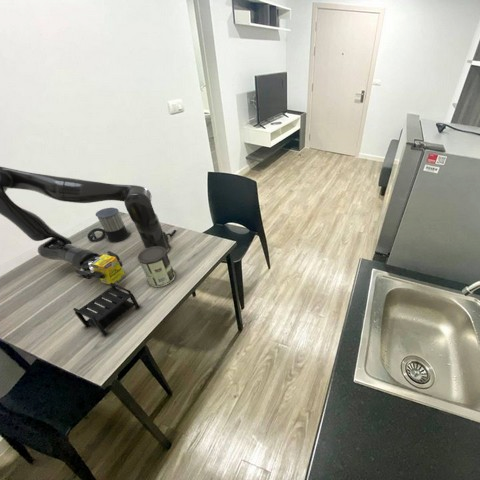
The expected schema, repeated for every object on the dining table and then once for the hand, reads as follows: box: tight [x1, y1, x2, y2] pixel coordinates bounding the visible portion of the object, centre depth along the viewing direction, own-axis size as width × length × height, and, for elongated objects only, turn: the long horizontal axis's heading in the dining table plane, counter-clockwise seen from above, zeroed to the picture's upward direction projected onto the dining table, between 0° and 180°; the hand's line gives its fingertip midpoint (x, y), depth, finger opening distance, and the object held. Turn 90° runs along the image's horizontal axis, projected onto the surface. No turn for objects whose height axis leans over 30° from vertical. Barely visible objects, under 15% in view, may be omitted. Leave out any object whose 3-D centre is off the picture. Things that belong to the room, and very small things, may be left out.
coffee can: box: [136, 246, 176, 288], centre depth 110 cm, size 10×10×14 cm
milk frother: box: [86, 207, 130, 243], centre depth 129 cm, size 14×16×15 cm
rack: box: [72, 283, 141, 337], centre depth 94 cm, size 14×10×10 cm
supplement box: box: [91, 253, 127, 286], centre depth 103 cm, size 6×6×11 cm
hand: (112, 270), depth 102 cm, fingers closed on supplement box, 6 cm apart
